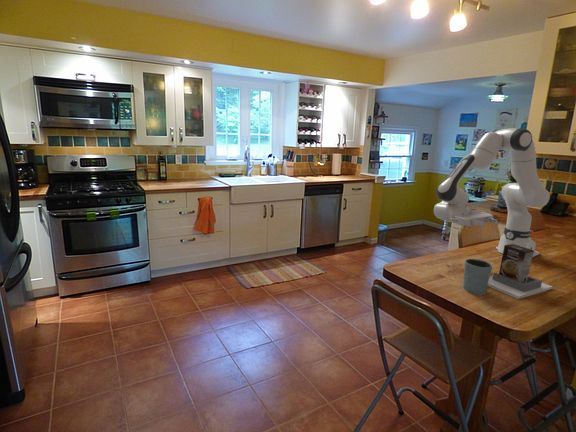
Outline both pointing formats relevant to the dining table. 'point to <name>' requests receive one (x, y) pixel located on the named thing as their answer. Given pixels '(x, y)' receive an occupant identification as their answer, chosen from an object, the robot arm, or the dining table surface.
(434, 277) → the dining table surface
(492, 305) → the dining table surface
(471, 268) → the ceramic plant pot
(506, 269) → the coffee box
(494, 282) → the white base plate
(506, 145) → the robot arm
